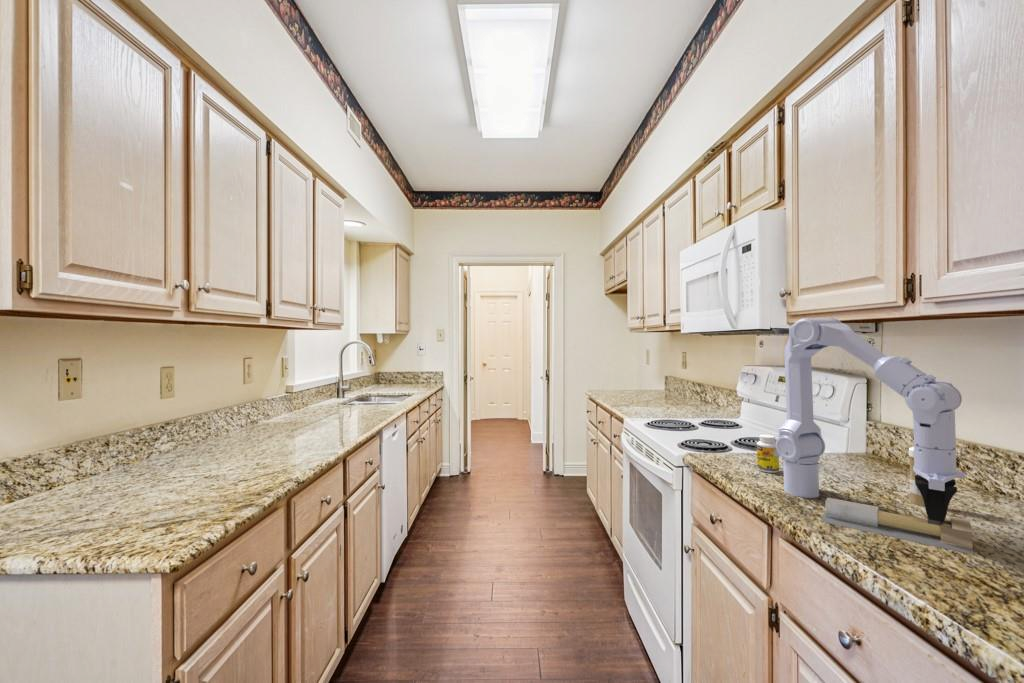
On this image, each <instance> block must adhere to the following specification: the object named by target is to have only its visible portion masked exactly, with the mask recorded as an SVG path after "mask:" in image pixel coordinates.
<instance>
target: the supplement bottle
mask: <svg viewBox="0 0 1024 683" xmlns="http://www.w3.org/2000/svg"><path fill="white" fill-rule="evenodd" d="M779 456H780V455H779V453H778V452H777V449H776V436H775V435H771V434H760V435H759V440H758V441H756V468H757V470H758V471H760V472H763V473H769V474H775V473H778V472H779V471H780V457H779Z"/></svg>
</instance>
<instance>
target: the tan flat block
mask: <svg viewBox="0 0 1024 683" xmlns="http://www.w3.org/2000/svg"><path fill="white" fill-rule="evenodd" d="M877 514H878V524H882V525H887V526H892V527H897V528H902V529H906V530H911V531H916V532H921V533H926V534H931V535H936V536H941V526H940V524H941V525H946V526H951V527H952V525H951V524H946V523H943V522H940V521H935V520H929V519H928V516H927V515H926V516H927V519H925V518H924V519H923V518H919V517H914V516H907V515H903V514H898V513H891V512H888V511H881V510H878V512H877Z"/></svg>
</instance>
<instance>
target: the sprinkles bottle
mask: <svg viewBox="0 0 1024 683" xmlns="http://www.w3.org/2000/svg"><path fill="white" fill-rule="evenodd" d="M908 456H909V470H910V471H909V491H910V492H909V493H910V503H911V504H913V505H915V506H918V507H923V508H925V504H924V500H923V497H922V495H921V493H920V491H919V489H918V488H917V486H916V484H915V475H918V474H917V473H915V472H914V471H913V466H914V446H911V447H909V448H908Z"/></svg>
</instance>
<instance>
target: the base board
mask: <svg viewBox="0 0 1024 683" xmlns="http://www.w3.org/2000/svg"><path fill="white" fill-rule="evenodd" d="M820 522H821V523H825V524H830V525H834V526H838V527H844V528H848V529H853V530H858V531H863V532H866V533H872V534H876V535H881V536H885V537H889V538H895V539H899V540H904V541H909V542H912V543H918V544H923V545H927V546H931V547H936V548H940V549H945V550H949V551H955V552H959V553H963V554H969V555H975V553H974V550H973V549H974V548H973V549H969V548H964V547H960V546H955V545H950V544H945V543H941V538H940V536H936V535H931V534H926V533H921V532H916V531H911V530H906V529H902V528H897V527H892V526H887V525H882V524H878V528H877V527H872V526H868V525H863V524H858V523H853V522H848V521H844V520H839V519H834V518H829V517H826V510H825V509H824V512H823V514H822V517H821V519H820Z"/></svg>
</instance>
